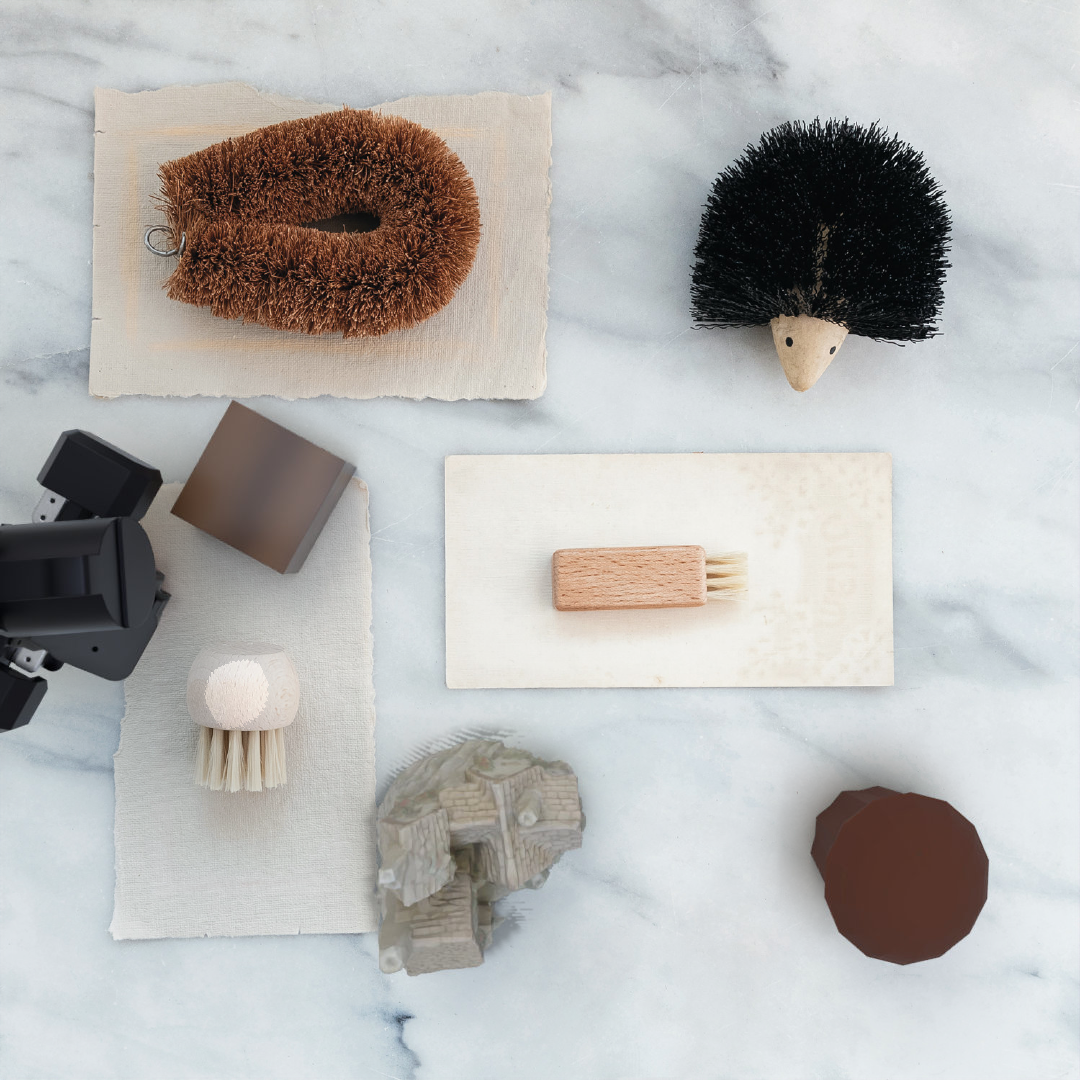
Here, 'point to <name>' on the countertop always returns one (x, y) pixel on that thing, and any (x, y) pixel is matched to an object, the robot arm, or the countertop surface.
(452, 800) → the ceramic cottage
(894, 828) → the brown faceted knob
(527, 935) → the countertop surface
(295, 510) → the block
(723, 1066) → the countertop surface
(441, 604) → the countertop surface
